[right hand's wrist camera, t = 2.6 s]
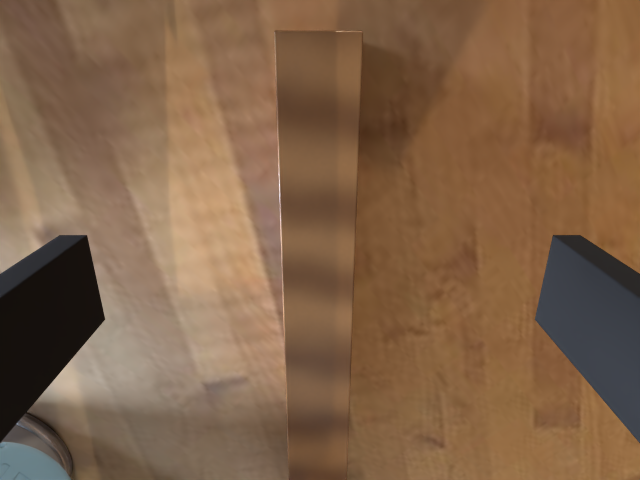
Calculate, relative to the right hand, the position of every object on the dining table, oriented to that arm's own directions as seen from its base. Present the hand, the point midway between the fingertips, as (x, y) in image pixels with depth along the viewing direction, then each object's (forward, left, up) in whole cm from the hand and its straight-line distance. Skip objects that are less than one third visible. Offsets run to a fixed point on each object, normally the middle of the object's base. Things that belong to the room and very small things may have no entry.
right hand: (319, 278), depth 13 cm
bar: (+3, -28, -26) cm, 38 cm away
